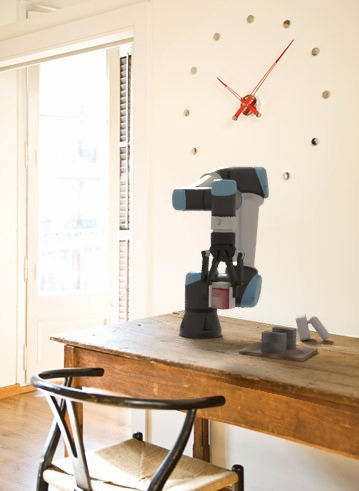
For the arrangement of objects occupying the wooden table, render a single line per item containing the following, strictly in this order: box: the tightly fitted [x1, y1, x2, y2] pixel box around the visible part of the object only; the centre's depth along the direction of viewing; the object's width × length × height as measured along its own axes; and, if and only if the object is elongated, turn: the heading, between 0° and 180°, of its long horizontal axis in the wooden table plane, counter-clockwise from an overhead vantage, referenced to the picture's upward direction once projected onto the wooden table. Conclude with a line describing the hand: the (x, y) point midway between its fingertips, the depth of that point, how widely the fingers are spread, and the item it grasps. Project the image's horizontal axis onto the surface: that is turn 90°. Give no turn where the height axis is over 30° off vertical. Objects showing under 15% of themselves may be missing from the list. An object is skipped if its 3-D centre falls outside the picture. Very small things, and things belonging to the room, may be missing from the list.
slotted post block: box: [238, 326, 318, 363], centre depth 199 cm, size 20×16×7 cm
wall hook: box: [295, 313, 332, 342], centre depth 221 cm, size 8×10×10 cm
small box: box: [212, 282, 232, 311], centre depth 193 cm, size 5×4×8 cm
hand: (221, 307), depth 193 cm, fingers closed on small box, 6 cm apart
